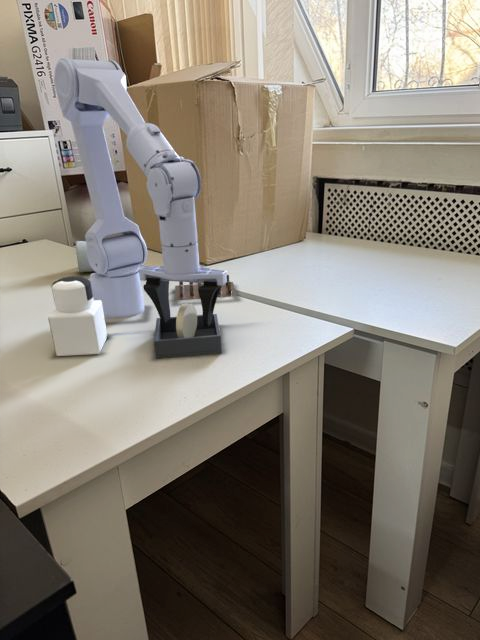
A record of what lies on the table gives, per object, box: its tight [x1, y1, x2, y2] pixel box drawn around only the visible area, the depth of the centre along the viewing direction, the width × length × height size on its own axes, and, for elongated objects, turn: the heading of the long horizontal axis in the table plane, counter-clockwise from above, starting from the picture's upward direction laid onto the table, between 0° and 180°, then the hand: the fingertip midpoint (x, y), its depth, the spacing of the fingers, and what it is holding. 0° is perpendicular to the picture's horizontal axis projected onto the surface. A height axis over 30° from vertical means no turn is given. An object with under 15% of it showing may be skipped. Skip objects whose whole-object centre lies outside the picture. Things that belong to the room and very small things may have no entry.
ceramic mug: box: [75, 240, 95, 273], centre depth 128 cm, size 10×8×8 cm
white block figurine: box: [47, 275, 108, 357], centre depth 84 cm, size 7×7×12 cm
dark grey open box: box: [153, 313, 223, 359], centre depth 87 cm, size 11×10×3 cm
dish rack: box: [174, 274, 238, 301], centre depth 110 cm, size 13×10×3 cm
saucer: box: [176, 303, 198, 338], centre depth 86 cm, size 1×6×6 cm, turn 165°
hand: (186, 322), depth 86 cm, fingers open, 7 cm apart
